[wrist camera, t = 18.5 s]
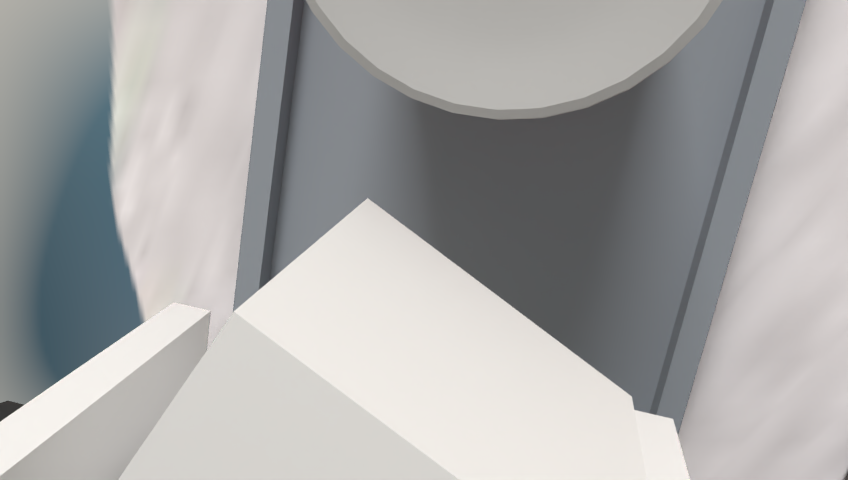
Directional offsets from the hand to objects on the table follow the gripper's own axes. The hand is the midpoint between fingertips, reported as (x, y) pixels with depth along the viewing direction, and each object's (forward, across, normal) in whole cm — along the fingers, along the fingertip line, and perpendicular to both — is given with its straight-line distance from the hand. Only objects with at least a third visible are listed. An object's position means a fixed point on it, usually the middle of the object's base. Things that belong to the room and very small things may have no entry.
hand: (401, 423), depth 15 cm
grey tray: (+14, 0, -5) cm, 15 cm away
